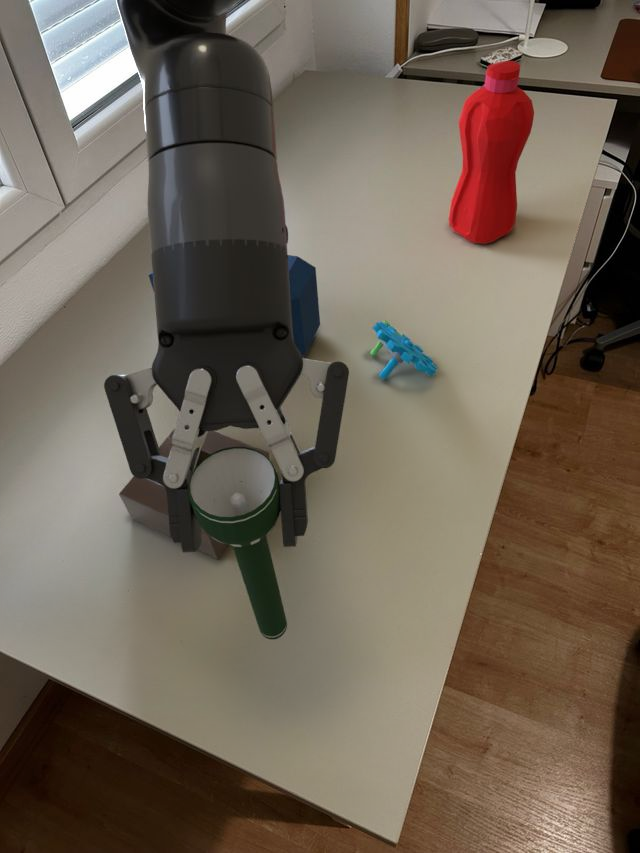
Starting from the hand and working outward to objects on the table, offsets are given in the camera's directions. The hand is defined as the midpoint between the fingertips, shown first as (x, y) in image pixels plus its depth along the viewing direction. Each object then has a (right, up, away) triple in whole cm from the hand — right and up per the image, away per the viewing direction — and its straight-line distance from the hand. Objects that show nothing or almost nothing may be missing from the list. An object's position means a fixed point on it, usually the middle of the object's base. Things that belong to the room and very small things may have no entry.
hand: (241, 544), depth 37 cm
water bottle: (+30, +39, +68) cm, 85 cm away
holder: (-9, -1, +37) cm, 38 cm away
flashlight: (+1, -9, +14) cm, 17 cm away
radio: (-6, +20, +55) cm, 59 cm away
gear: (+15, +15, +48) cm, 53 cm away
